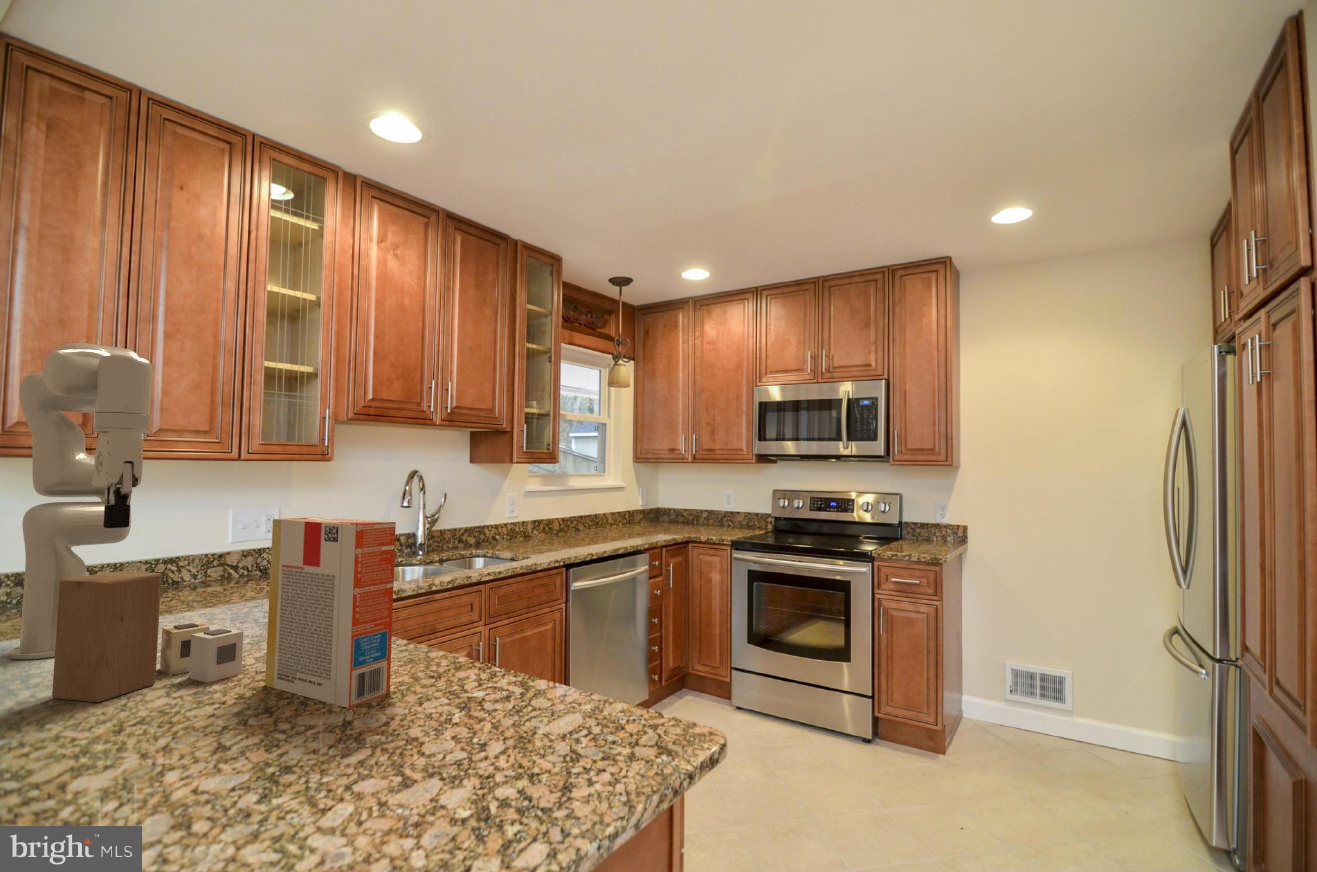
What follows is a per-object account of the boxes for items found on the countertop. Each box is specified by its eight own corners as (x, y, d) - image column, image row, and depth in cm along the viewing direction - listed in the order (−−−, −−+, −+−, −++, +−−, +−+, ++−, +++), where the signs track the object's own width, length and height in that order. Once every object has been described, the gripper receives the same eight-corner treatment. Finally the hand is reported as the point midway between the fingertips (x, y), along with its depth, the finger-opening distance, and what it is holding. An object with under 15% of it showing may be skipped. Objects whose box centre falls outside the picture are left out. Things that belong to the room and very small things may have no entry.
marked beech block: (159, 669, 123) (162, 626, 124) (196, 662, 128) (198, 620, 129) (171, 675, 119) (173, 631, 120) (207, 667, 124) (210, 625, 125)
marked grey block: (188, 677, 118) (191, 632, 119) (222, 669, 124) (225, 626, 124) (208, 683, 115) (210, 637, 116) (242, 674, 121) (244, 630, 121)
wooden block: (97, 703, 104) (105, 581, 106) (50, 699, 106) (58, 579, 108) (156, 684, 114) (163, 572, 116) (112, 680, 116) (118, 570, 118)
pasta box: (389, 693, 111) (395, 521, 113) (348, 708, 104) (355, 524, 106) (307, 673, 121) (314, 516, 123) (265, 685, 114) (272, 519, 116)
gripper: (83, 425, 115) (77, 527, 113) (107, 420, 106) (100, 531, 105) (135, 428, 121) (129, 524, 119) (162, 424, 112) (156, 528, 111)
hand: (116, 527), depth 112 cm, fingers closed
